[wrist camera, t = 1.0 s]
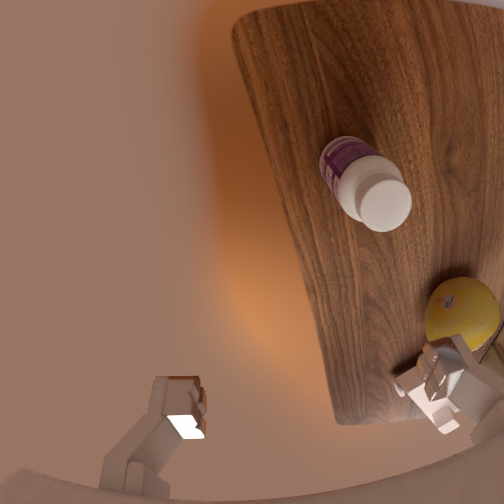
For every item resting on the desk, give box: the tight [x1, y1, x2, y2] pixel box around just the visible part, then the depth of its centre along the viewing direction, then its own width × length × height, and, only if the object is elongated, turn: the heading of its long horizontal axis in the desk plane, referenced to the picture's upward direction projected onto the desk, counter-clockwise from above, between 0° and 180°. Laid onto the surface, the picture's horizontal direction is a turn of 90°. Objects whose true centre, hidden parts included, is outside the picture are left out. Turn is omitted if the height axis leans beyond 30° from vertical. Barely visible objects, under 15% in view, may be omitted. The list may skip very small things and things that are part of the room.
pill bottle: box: [320, 136, 412, 232], centre depth 24 cm, size 5×5×10 cm
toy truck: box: [391, 365, 460, 434], centre depth 47 cm, size 25×7×9 cm, turn 42°
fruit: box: [425, 277, 500, 352], centre depth 34 cm, size 10×11×10 cm
